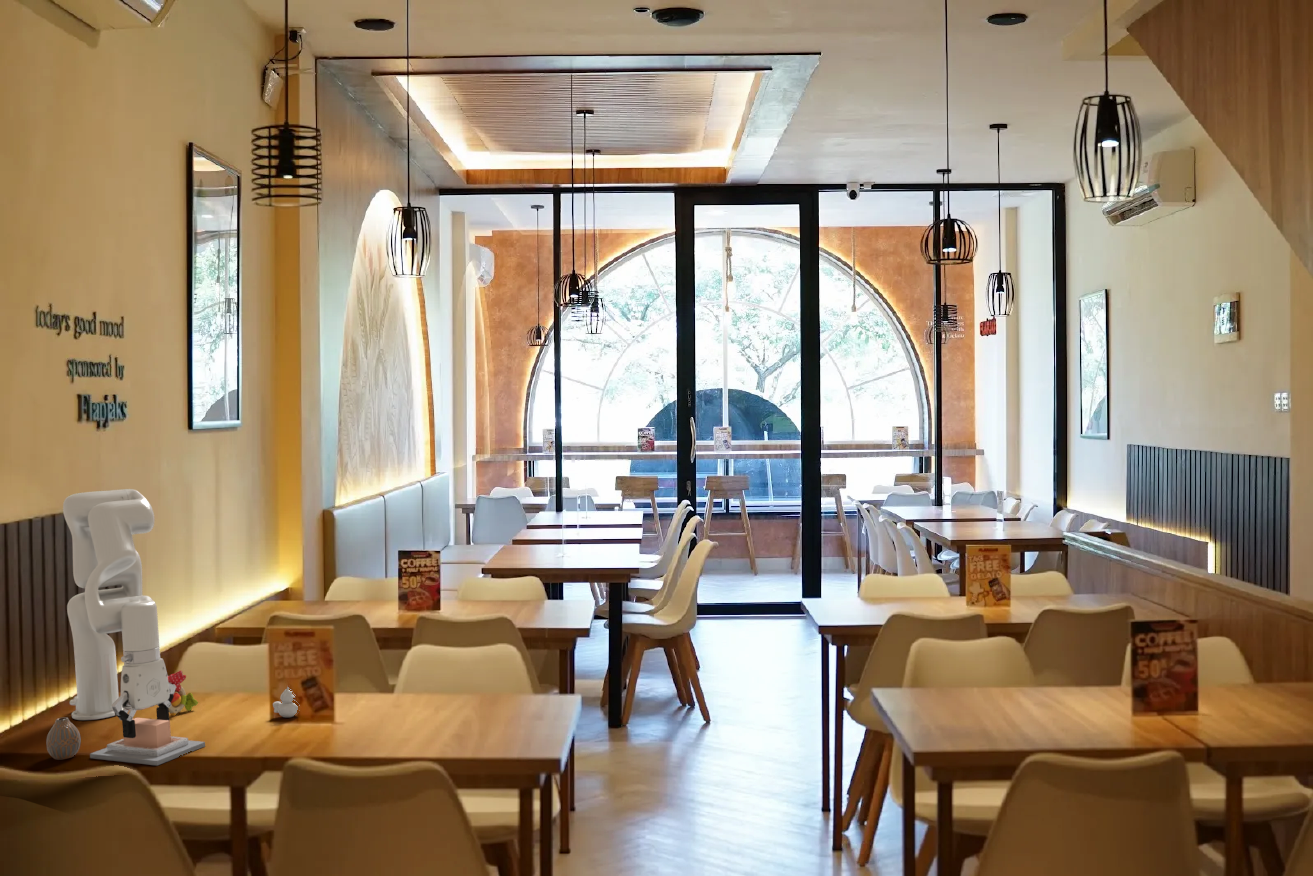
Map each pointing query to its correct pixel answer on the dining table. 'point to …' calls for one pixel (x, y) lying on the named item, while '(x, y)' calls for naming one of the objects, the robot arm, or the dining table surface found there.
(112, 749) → the board
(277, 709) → the rubber duck
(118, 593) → the robot arm
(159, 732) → the keyed block
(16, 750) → the dining table surface
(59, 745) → the vase
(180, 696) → the bird rattle
